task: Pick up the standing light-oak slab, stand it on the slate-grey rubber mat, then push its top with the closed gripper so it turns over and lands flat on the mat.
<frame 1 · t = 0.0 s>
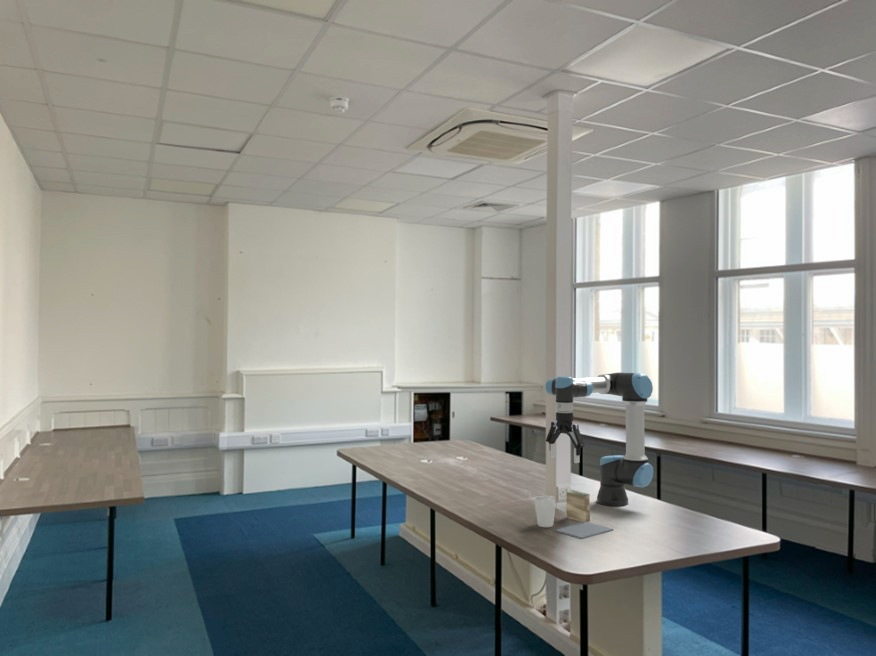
hand: (564, 460, 288), 28 cm above the table, fingers open, 13 cm apart
mat: (584, 530, 279), on the table
slab: (578, 519, 298), on the table
white tapered cylinder: (545, 525, 288), on the table
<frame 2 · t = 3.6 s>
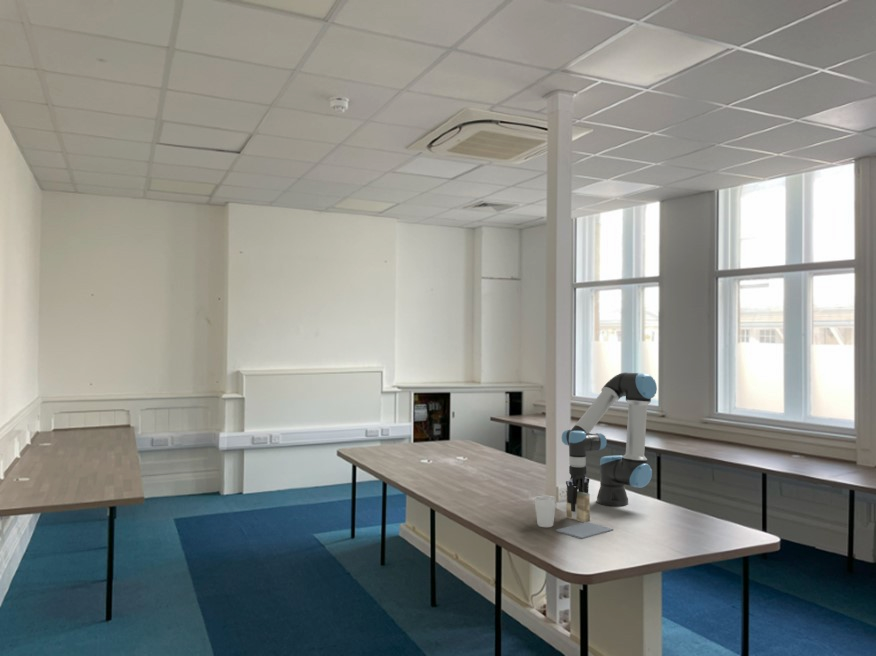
hand: (578, 517, 298), 1 cm above the table, fingers closed on slab, 4 cm apart
slab: (578, 519, 298), on the table, touching gripper
everything else where it was.
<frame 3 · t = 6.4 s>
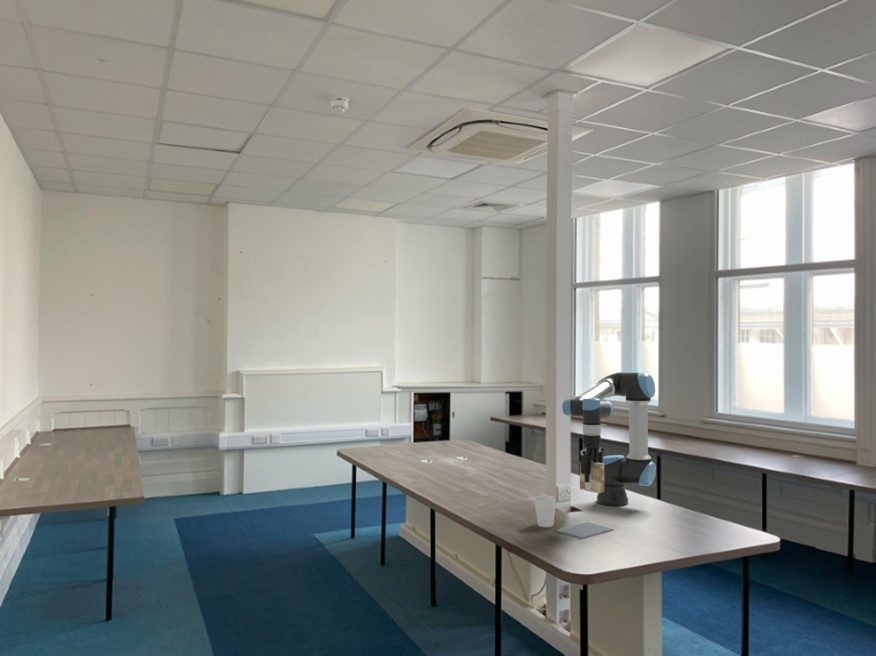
hand: (592, 489, 283), 17 cm above the table, fingers closed on slab, 4 cm apart
slab: (591, 490, 283), point 16 cm above the table, touching gripper
everything else where it was.
when the fingers open (2 cm above the table, at t = 9.2 s): slab stays where it is, resting on mat.
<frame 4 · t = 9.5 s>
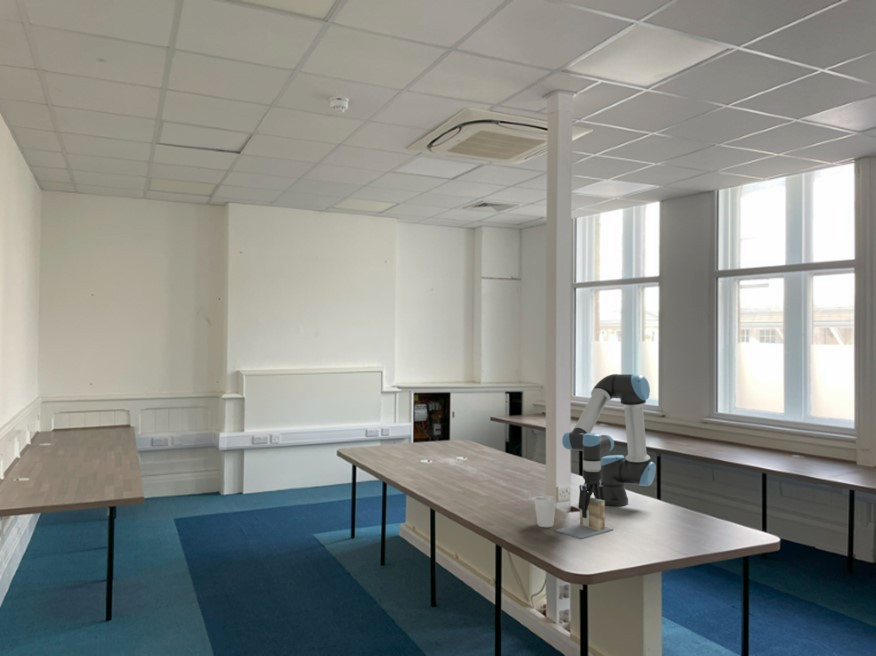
hand: (592, 523, 282), 2 cm above the table, fingers open, 8 cm apart
slab: (592, 527, 282), point 1 cm above the table, touching mat
everything else where it was.
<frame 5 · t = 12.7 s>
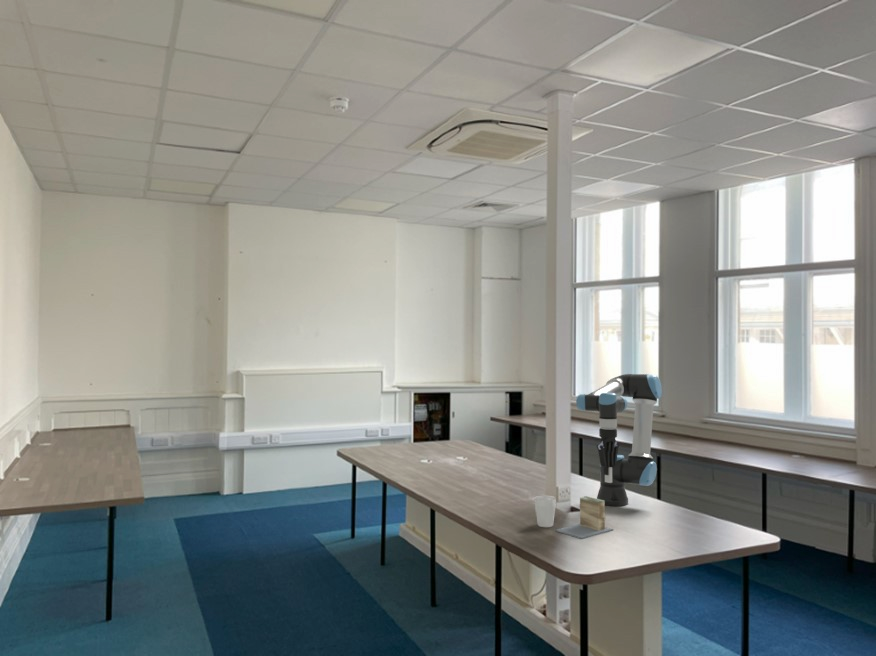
hand: (608, 482, 289), 18 cm above the table, fingers closed
nothing on the table moved.
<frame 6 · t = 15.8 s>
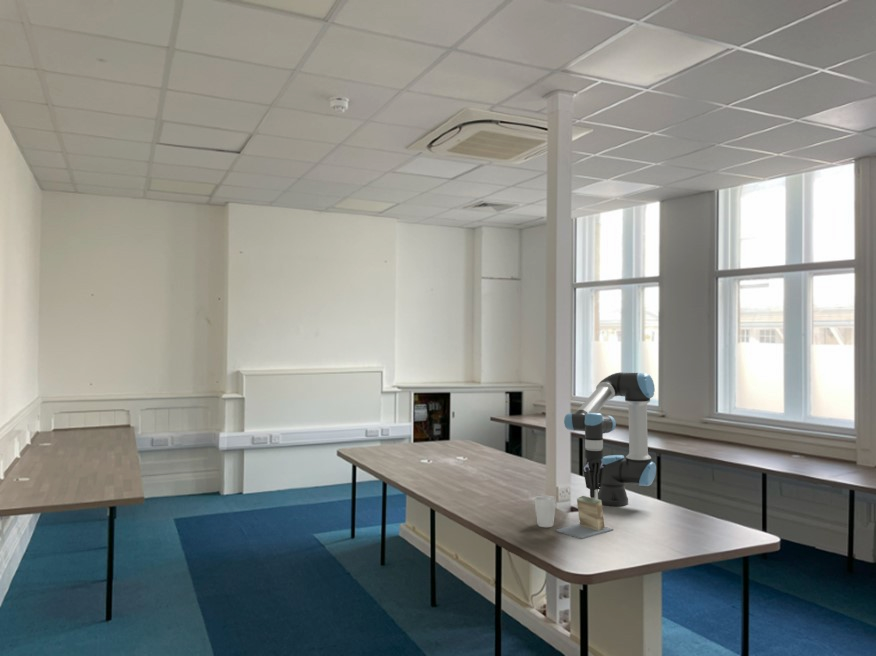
hand: (594, 504, 283), 10 cm above the table, fingers closed
slab: (592, 526, 282), point 1 cm above the table, tilted 10°, touching mat
everything else where it was.
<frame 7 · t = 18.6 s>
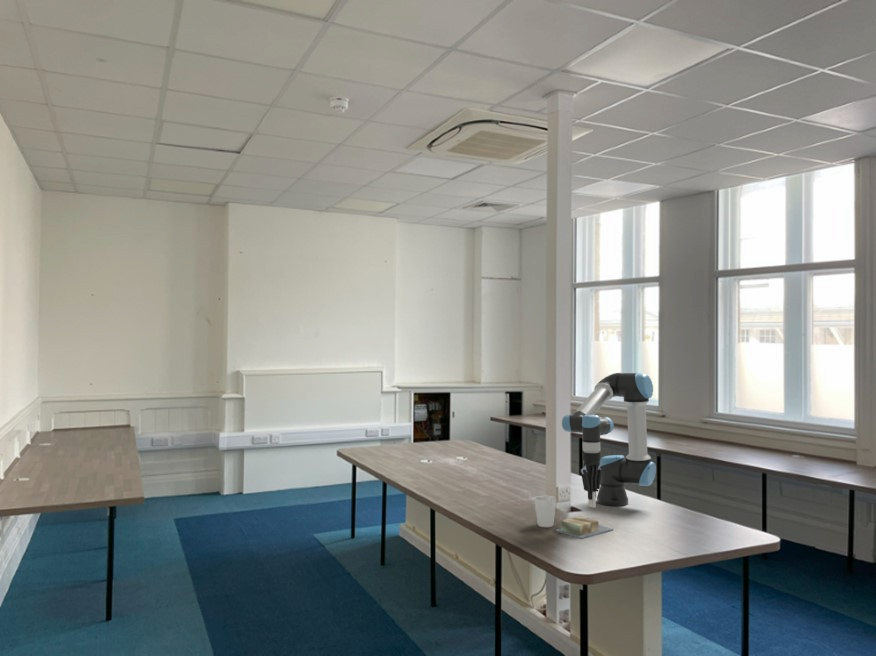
hand: (592, 506, 283), 9 cm above the table, fingers closed
slab: (589, 523, 281), point 3 cm above the table, tilted 90°, touching mat
everything else where it was.
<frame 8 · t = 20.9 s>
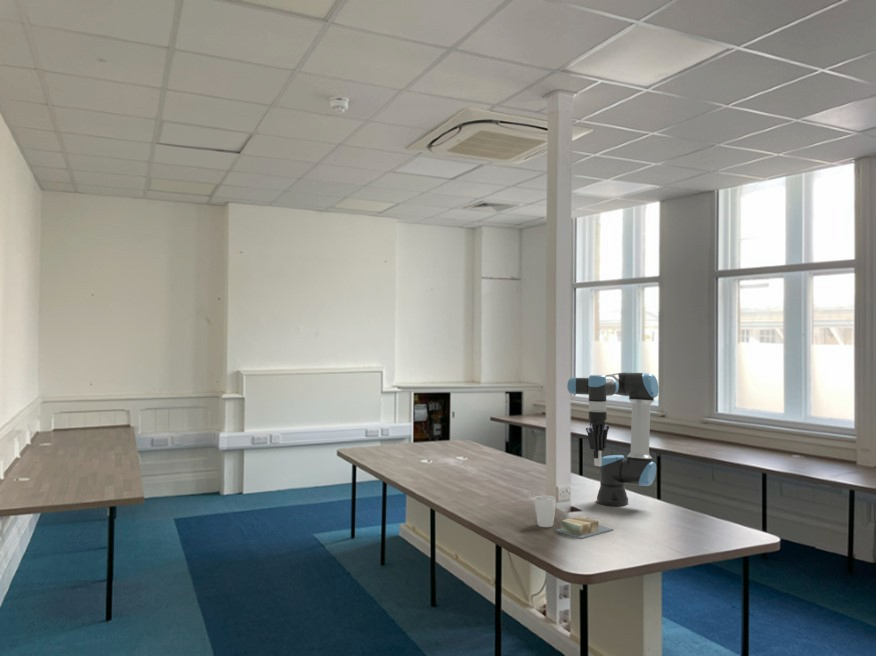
hand: (598, 465, 285), 26 cm above the table, fingers closed
nothing on the table moved.
at the end: slab tilted 90°; slab inside the target area on the mat (3.5 cm from its centre), point 2.6 cm above the mat's base; the gripper is holding nothing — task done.
